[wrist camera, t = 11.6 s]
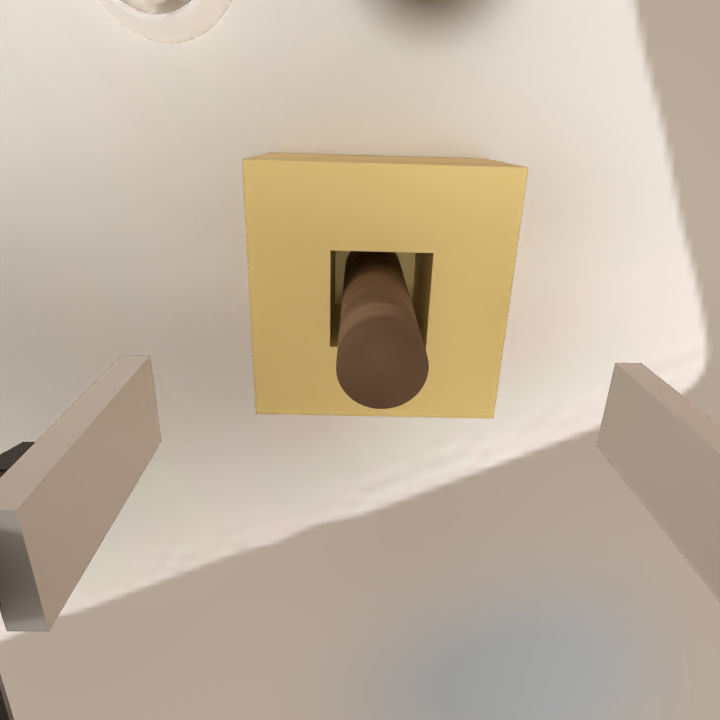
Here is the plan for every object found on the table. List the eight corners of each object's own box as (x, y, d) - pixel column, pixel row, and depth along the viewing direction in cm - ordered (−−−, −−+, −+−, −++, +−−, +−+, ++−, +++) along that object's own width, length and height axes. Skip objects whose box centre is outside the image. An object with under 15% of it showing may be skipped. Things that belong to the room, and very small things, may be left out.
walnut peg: (344, 294, 32) (335, 408, 19) (345, 239, 31) (336, 323, 18) (398, 295, 32) (425, 409, 19) (401, 241, 31) (432, 325, 18)
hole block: (276, 353, 35) (255, 413, 27) (269, 152, 30) (242, 159, 23) (464, 357, 35) (493, 418, 28) (486, 158, 30) (528, 167, 23)
